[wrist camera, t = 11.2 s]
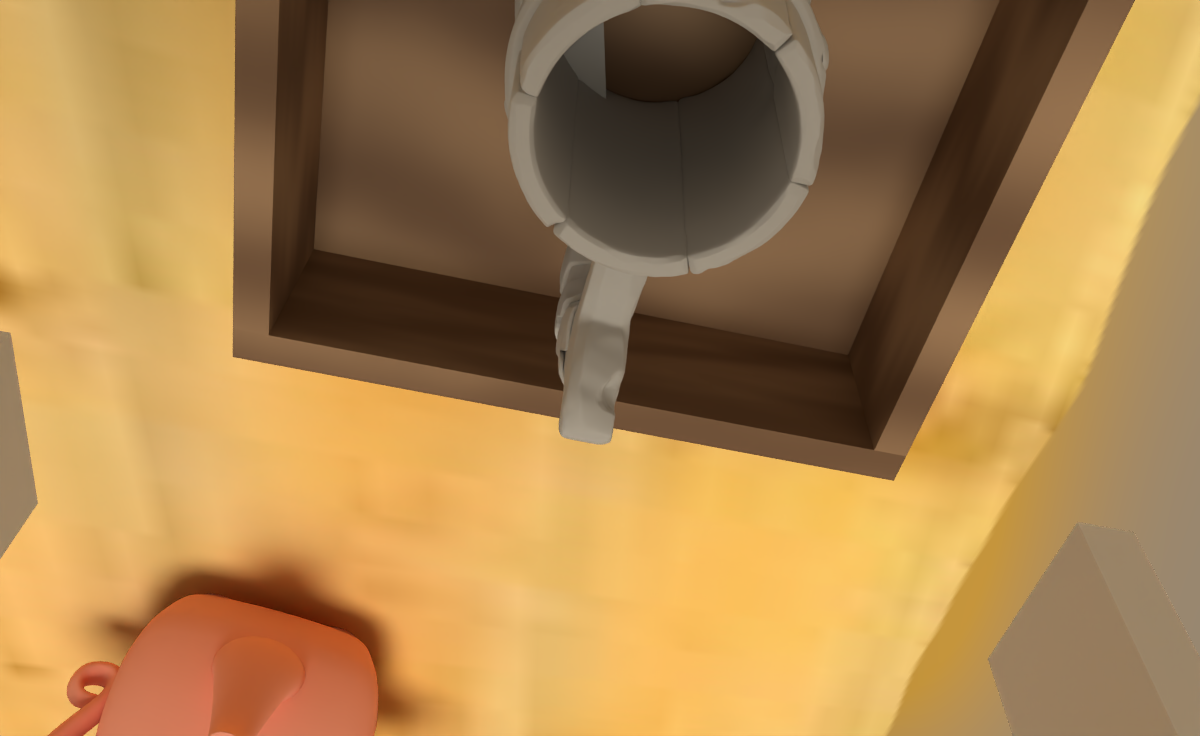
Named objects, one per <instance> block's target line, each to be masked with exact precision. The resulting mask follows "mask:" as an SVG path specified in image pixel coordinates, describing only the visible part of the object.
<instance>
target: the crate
mask: <svg viewBox="0 0 1200 736" xmlns="http://www.w3.org/2000/svg"><path fill="white" fill-rule="evenodd" d="M1134 1H1135V0H811V3H810V6H811V8H812V10H813V13H814V15H815V18H816V21H817V23H818V25H819V27H820V30H821V32H822V34H823V36H824V37H825V39H826V41H827V44H828V50H829V64H828V68H827V70H826V81H825V87H824V94H823V102H824V132H823V144H822V152H821V155H820V159H819V166H818V170H817V174H816V177H815V180H814V182H813V184H812V185H810V186H809V185H808V188H809V192H808V194H807V196H806V198H805V199H804V201H803V203H802V204H801V206H800V207H799V209H798V210H797V212H796V213H795V214H794V215H793V217H792V218H791V219H790V220H789V221H788V222H787V223H786V224H785V226H784V227H783V228H782V229H781V230H780V231H779V232H778V233H777V234H775V235H774V236H773V237H772V238H771V239H770V240H768V241H767V242H766V243H764V244H763V245H762V246H760V247H758V248H756V249H755V250H753V251H751V252H749V253H747V254H745V255H743V256H741V257H739V258H737V259H736V260H734V261H732V262H730V263H729V264H726V265H723V266H720V267H717V268H710V269H707V270H705V271H704V272H702V273H700V274H693V273H692V272H691V271H690V267H689V271H688V274H683V275H679V276H673V277H649V276H647V279H646V282H645V285H644V287H643V289H642V292H641V294H640V297H639V300H638V303H637V306H636V308H635V311H634V313H633V316H632V318H631V320H630V332H629V339H628V348H627V359H626V366H625V373H624V376H623V379H622V382H621V385H620V388H619V393H618V396H617V399H616V402H615V406H614V412H615V420H614V427H613V428H615V429H621V430H626V431H631V432H637V433H642V434H647V435H653V436H658V437H663V438H669V439H674V440H679V441H685V442H690V443H695V444H701V445H706V446H711V447H717V448H722V449H727V450H733V451H738V452H743V453H749V454H754V455H760V456H765V457H770V458H776V459H781V460H786V461H792V462H797V463H802V464H808V465H813V466H818V467H824V468H829V469H834V470H840V471H845V472H850V473H856V474H861V475H866V476H872V477H877V478H882V479H888V480H893V481H894V479H895V477H896V475H897V473H898V471H899V469H900V467H901V465H902V463H903V461H904V459H905V457H906V455H907V453H908V451H909V449H910V447H911V445H912V443H913V441H914V439H915V437H916V435H917V433H918V431H919V429H920V427H921V425H922V423H923V421H924V419H925V417H926V415H927V414H928V412H929V410H930V408H931V406H932V404H933V402H934V400H935V398H936V396H937V394H938V392H939V390H940V388H941V386H942V384H943V382H944V380H945V378H946V376H947V374H948V372H949V370H950V368H951V366H952V364H953V362H954V360H955V358H956V356H957V354H958V352H959V350H960V348H961V346H962V344H963V342H964V340H965V338H966V336H967V334H968V332H969V330H970V328H971V326H972V324H973V322H974V320H975V318H976V316H977V314H978V312H979V310H980V308H981V306H982V304H983V302H984V300H985V298H986V296H987V294H988V292H989V290H990V288H991V286H992V284H993V282H994V280H995V278H996V276H997V274H998V272H999V270H1000V268H1001V266H1002V264H1003V262H1004V260H1005V258H1006V256H1007V254H1008V252H1009V250H1010V248H1011V246H1012V244H1013V242H1014V240H1015V238H1016V236H1017V234H1018V232H1019V230H1020V228H1021V226H1022V224H1023V222H1024V220H1025V218H1026V216H1027V214H1028V212H1029V210H1030V208H1031V206H1032V204H1033V202H1034V200H1035V198H1036V196H1037V194H1038V192H1039V190H1040V188H1041V186H1042V184H1043V182H1044V180H1045V178H1046V176H1047V174H1048V172H1049V170H1050V168H1051V166H1052V164H1053V162H1054V160H1055V158H1056V156H1057V154H1058V152H1059V150H1060V148H1061V146H1062V144H1063V142H1064V140H1065V138H1066V136H1067V134H1068V132H1069V130H1070V128H1071V126H1072V124H1073V122H1074V121H1075V119H1076V117H1077V115H1078V113H1079V111H1080V109H1081V107H1082V105H1083V103H1084V101H1085V99H1086V97H1087V95H1088V93H1089V91H1090V89H1091V87H1092V85H1093V83H1094V81H1095V79H1096V77H1097V75H1098V73H1099V71H1100V69H1101V67H1102V65H1103V63H1104V61H1105V59H1106V57H1107V55H1108V53H1109V51H1110V49H1111V47H1112V45H1113V43H1114V41H1115V39H1116V37H1117V35H1118V33H1119V31H1120V29H1121V27H1122V25H1123V23H1124V21H1125V19H1126V17H1127V15H1128V13H1129V11H1130V9H1131V7H1132V5H1133V3H1134ZM514 23H515V0H236V17H235V143H234V268H233V357H236V358H242V359H247V360H252V361H258V362H263V363H268V364H274V365H279V366H285V367H290V368H295V369H301V370H306V371H311V372H317V373H322V374H327V375H333V376H338V377H343V378H349V379H354V380H359V381H365V382H370V383H375V384H381V385H386V386H391V387H397V388H402V389H407V390H413V391H418V392H423V393H429V394H434V395H439V396H445V397H450V398H455V399H461V400H466V401H471V402H477V403H482V404H487V405H493V406H498V407H503V408H509V409H514V410H519V411H525V412H530V413H535V414H541V415H546V416H551V417H557V418H560V411H561V404H562V397H563V389H564V385H563V383H562V380H561V378H560V375H559V369H558V356H557V354H556V342H557V339H556V336H555V318H556V312H557V306H558V302H559V299H560V297H561V293H560V271H561V267H562V263H563V259H564V256H565V252H566V249H567V246H568V245H566V244H565V243H564V242H563V241H561V240H560V239H559V238H558V237H557V236H556V235H555V234H554V232H553V229H554V224H553V225H551V226H549V227H546V226H545V225H544V224H543V223H542V221H541V220H540V219H539V218H538V217H537V215H536V214H535V213H534V211H533V210H532V208H531V207H530V205H529V203H528V202H527V200H526V198H525V195H524V193H523V191H522V189H521V187H520V185H519V182H518V180H517V177H516V175H515V172H514V169H513V165H512V161H511V157H510V151H509V143H508V118H507V115H506V112H505V107H504V101H505V61H506V54H507V48H508V43H509V39H510V35H511V32H512V29H513V26H514ZM756 39H757V37H756V36H755V35H754V34H752V33H751V32H750V31H748V30H747V29H745V28H744V27H742V26H740V25H739V24H737V23H735V22H733V21H731V20H729V19H727V18H725V17H722V16H720V15H717V14H715V13H712V12H708V11H705V10H701V9H696V8H690V7H683V6H672V5H663V4H654V5H646V6H644V5H641V6H640V7H638V8H636V9H634V10H631V11H629V12H626V13H623V14H620V15H618V16H615V17H613V18H611V19H609V20H607V21H605V22H604V48H605V77H606V90H609V91H611V92H613V93H615V94H617V95H620V96H623V97H626V98H629V99H632V100H636V101H642V102H668V101H677V102H679V100H680V99H682V98H684V97H690V96H695V95H698V94H701V93H703V92H705V91H707V90H709V89H711V88H713V87H715V86H716V85H718V84H720V83H721V82H723V81H724V80H726V79H727V78H728V77H729V76H730V75H732V74H733V73H734V72H735V71H736V70H737V69H738V67H739V66H740V65H741V64H742V63H743V62H744V60H745V59H746V58H747V56H748V55H749V53H750V51H751V50H752V48H753V46H754V43H755V41H756Z"/></svg>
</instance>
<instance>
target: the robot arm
mask: <svg viewBox="0 0 1200 736" xmlns="http://www.w3.org/2000/svg"><path fill="white" fill-rule="evenodd" d="M37 504H38V501H37V495H36V489H35V483H34V476H33V470H32V464H31V458H30V451H29V445H28V439H27V433H26V426H25V420H24V414H23V407H22V401H21V395H20V389H19V382H18V376H17V370H16V364H15V357H14V351H13V345H12V338H11V333H8V332H3V331H0V558H1V557H2V556H3V554H4V553H5V551H6V550H7V548H8V547H9V545H10V544H11V542H12V541H13V539H14V538H15V536H16V535H17V533H18V532H19V530H20V529H21V527H22V526H23V524H24V523H25V521H26V520H27V518H28V517H29V515H30V514H31V513H32V511H33V510H34V508H35V507H36V505H37ZM988 661H989V664H990V667H991V670H992V673H993V676H994V679H995V682H996V686H997V689H998V692H999V695H1000V698H1001V701H1002V704H1003V707H1004V710H1005V713H1006V716H1007V719H1008V723H1009V726H1010V729H1011V732H1012V735H1013V736H1200V657H1199V655H1198V653H1197V651H1196V649H1195V647H1194V646H1193V644H1192V642H1191V640H1190V638H1189V636H1188V634H1187V632H1186V630H1185V628H1184V626H1183V624H1182V623H1181V621H1180V619H1179V617H1178V615H1177V613H1176V611H1175V609H1174V607H1173V605H1172V603H1171V602H1170V600H1169V598H1168V596H1167V594H1166V592H1165V590H1164V588H1163V586H1162V584H1161V583H1160V581H1159V579H1158V577H1157V575H1156V573H1155V571H1154V569H1153V567H1152V566H1151V564H1150V562H1149V560H1148V558H1147V556H1146V554H1145V552H1144V550H1143V548H1142V547H1141V545H1140V543H1139V541H1138V539H1137V537H1136V535H1135V533H1134V532H1131V531H1125V530H1119V529H1114V528H1108V527H1103V526H1097V525H1092V524H1086V523H1080V522H1077V523H1076V525H1075V526H1074V528H1073V529H1072V531H1071V533H1070V534H1069V536H1068V537H1067V539H1066V540H1065V542H1064V543H1063V545H1062V546H1061V548H1060V549H1059V551H1058V552H1057V554H1056V555H1055V557H1054V559H1053V560H1052V562H1051V563H1050V565H1049V566H1048V568H1047V569H1046V571H1045V572H1044V574H1043V575H1042V577H1041V578H1040V580H1039V581H1038V583H1037V584H1036V586H1035V587H1034V589H1033V591H1032V592H1031V594H1030V595H1029V597H1028V598H1027V600H1026V601H1025V603H1024V604H1023V606H1022V608H1021V609H1020V610H1019V612H1018V613H1017V615H1016V617H1015V618H1014V620H1013V621H1012V623H1011V624H1010V626H1009V627H1008V629H1007V630H1006V632H1005V633H1004V635H1003V636H1002V638H1001V639H1000V641H999V643H998V644H997V646H996V647H995V649H994V650H993V652H992V653H991V655H990V656H989V658H988Z"/></svg>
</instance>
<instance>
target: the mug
mask: <svg viewBox="0 0 1200 736" xmlns="http://www.w3.org/2000/svg"><path fill="white" fill-rule="evenodd" d="M810 3H811V0H515V23H514V26H513V29H512V32H511V35H510V39H509V43H508V48H507V54H506V61H505V101H504V107H505V112H506V115H507V118H508V143H509V151H510V157H511V161H512V165H513V169H514V172H515V175H516V177H517V180H518V182H519V185H520V187H521V189H522V191H523V193H524V195H525V198H526V200H527V202H528V203H529V205H530V207H531V208H532V210H533V211H534V213H535V214H536V215H537V217H538V218H539V219H540V220H541V221H542V223H543V224H544V225H545V226H546V227H549V226H551V225H553V224H554V229H553V232H554V234H555V235H556V236H557V237H558V238H559V239H560V240H561V241H563V242H564V243H565V244H566V245H568V246H567V249H566V252H565V256H564V259H563V263H562V267H561V271H560V293H561V297H560V299H559V302H558V306H557V312H556V318H555V336H556V339H557V342H556V354H557V356H558V369H559V375H560V378H561V380H562V383H563V385H564V389H563V397H562V404H561V411H560V419H559V432H560V434H561V436H562V437H564V438H568V439H572V440H577V441H582V442H587V443H593V444H606V443H609V442H610V441H611V438H612V433H613V427H614V420H615V412H614V406H615V402H616V399H617V396H618V393H619V388H620V385H621V382H622V379H623V376H624V373H625V366H626V359H627V348H628V339H629V332H630V320H631V318H632V316H633V313H634V311H635V308H636V306H637V303H638V300H639V297H640V294H641V292H642V289H643V287H644V285H645V282H646V279H647V276H649V277H673V276H679V275H683V274H688V271H689V267H690V271H691V272H692V273H693V274H700V273H702V272H704V271H705V270H707V269H710V268H717V267H720V266H723V265H726V264H729V263H730V262H732V261H734V260H736V259H737V258H739V257H741V256H743V255H745V254H747V253H749V252H751V251H753V250H755V249H756V248H758V247H760V246H762V245H763V244H764V243H766V242H767V241H768V240H770V239H771V238H772V237H773V236H774V235H775V234H777V233H778V232H779V231H780V230H781V229H782V228H783V227H784V226H785V224H786V223H787V222H788V221H789V220H790V219H791V218H792V217H793V215H794V214H795V213H796V212H797V210H798V209H799V207H800V206H801V204H802V203H803V201H804V199H805V198H806V196H807V194H808V192H809V188H808V185H809V186H810V185H812V184H813V182H814V180H815V177H816V174H817V170H818V166H819V159H820V155H821V152H822V144H823V132H824V102H823V94H824V87H825V81H826V70H827V68H828V64H829V50H828V44H827V41H826V39H825V37H824V36H823V34H822V32H821V30H820V27H819V25H818V23H817V21H816V18H815V15H814V13H813V10H812V8H811V6H810ZM654 4H663V5H672V6H683V7H690V8H696V9H701V10H705V11H708V12H712V13H715V14H717V15H720V16H722V17H725V18H727V19H729V20H731V21H733V22H735V23H737V24H739V25H740V26H742V27H744V28H745V29H747V30H748V31H750V32H751V33H752V34H754V35H755V36H756V37H757V39H756V41H755V43H754V46H753V48H752V50H751V51H750V53H749V55H748V56H747V58H746V59H745V60H744V62H743V63H742V64H741V65H740V66H739V67H738V69H737V70H736V71H735V72H734V73H733V74H732V75H730V76H729V77H728V78H727V79H726V80H724V81H723V82H721V83H720V84H718V85H716V86H715V87H713V88H711V89H709V90H707V91H705V92H703V93H701V94H698V95H695V96H690V97H684V98H682V99H680V100H679V102H677V101H668V102H642V101H636V100H632V99H629V98H626V97H623V96H620V95H617V94H615V93H613V92H611V91H609V90H606V77H605V48H604V22H605V21H607V20H609V19H611V18H613V17H615V16H618V15H620V14H623V13H626V12H629V11H631V10H634V9H636V8H638V7H640V6H641V5H644V6H646V5H654Z"/></svg>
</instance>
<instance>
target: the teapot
mask: <svg viewBox="0 0 1200 736" xmlns="http://www.w3.org/2000/svg"><path fill="white" fill-rule="evenodd" d="M88 685H98V686H102V687H104V689H103V691H102V692H101V693H100V694H99V695H97V694H93V693H90V692H87V691H86V690H85V689H84V687H85V686H88ZM67 696H68V699H69V701H70V702H71V703H72V704H73V705H74V706H75V707H78V708H81V709H80V710H79V711H77V712H76V713H75V714H73V715H72V716H71V717H69V718H68V719H67V720H66V721H64V722H63V723H62V724H61V725H59V726H58V727H57V728H56V729H55V730H53V731H52V732H51V733H50V734H49V735H48V736H83V735H84V734H86V733H87V732H88V731H89V730H91V729H92V728H93V727H94V726H96V725H97V724H98V723H99V725H98V729H97V733H96V736H374V733H375V729H376V723H377V715H378V683H377V675H376V671H375V667H374V664H373V661H372V658H371V656H370V653H369V651H368V649H367V648H366V646H365V645H364V644H363V643H362V642H361V641H360V640H359V639H357V638H356V637H355V636H354V635H353V634H352V633H350V632H348V631H347V630H344V629H341V628H337V627H329V626H326V625H322V624H319V623H316V622H313V621H310V620H307V619H304V618H301V617H297V616H294V615H291V614H287V613H284V612H280V611H277V610H273V609H269V608H265V607H261V606H258V605H253V604H249V603H245V602H241V601H236V600H232V599H230V598H228V597H226V596H223V595H219V594H212V593H210V594H203V595H202V594H194V595H188V596H186V597H183V598H181V599H179V600H177V601H176V602H174V603H172V604H171V605H170V606H168V607H167V608H165V609H164V610H163V611H161V612H160V613H159V614H157V615H156V616H155V617H154V618H153V619H152V620H151V621H150V622H149V623H148V624H147V626H146V627H145V628H144V629H143V630H142V632H141V633H140V634H139V636H138V637H137V638H136V640H135V641H134V643H133V644H132V646H131V647H130V649H129V650H128V652H127V654H126V656H125V658H124V660H123V662H122V664H121V666H120V667H119V666H117V665H115V664H113V663H110V662H103V661H98V662H91V663H87V664H85V665H83V666H81V667H80V668H79V669H78V670H77V671H76V672H75V673H74V674H73V676H72V677H71V679H70V681H69V683H68V686H67Z"/></svg>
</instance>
